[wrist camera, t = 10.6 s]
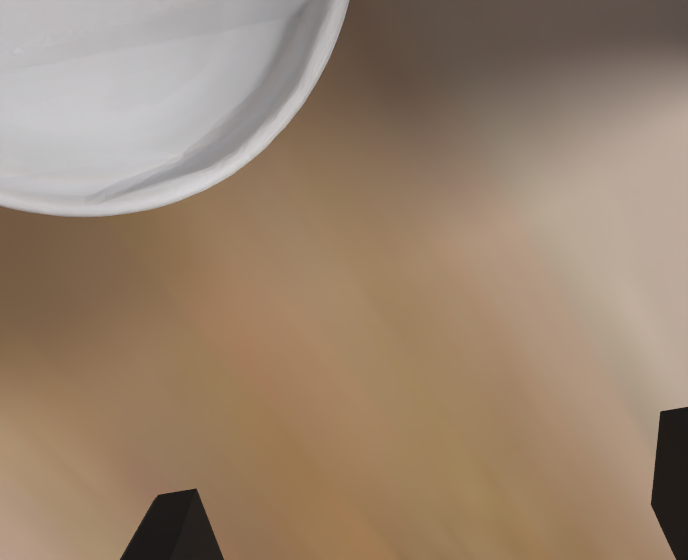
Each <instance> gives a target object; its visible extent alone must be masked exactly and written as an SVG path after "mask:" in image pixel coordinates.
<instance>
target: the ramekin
mask: <svg viewBox="0 0 688 560" xmlns="http://www.w3.org/2000/svg"><path fill="white" fill-rule="evenodd" d="M348 4H349V0H0V206H2V207H6V208H11V209H16V210H20V211H25V212H30V213H38V214H46V215H55V216H64V217H97V216H112V215H120V214H128V213H134V212H139V211H145V210H149V209H154V208H158V207H161V206H165V205H168V204H171V203H175V202H178V201H180V200H183V199H185V198H187V197H189V196H192V195H194V194H196V193H199V192H202V191H204V190H206V189H208V188H210V187H212V186H214V185H215V184H217V183H219V182H221V181H223V180H224V179H226V178H227V177H229V176H231V175H232V174H234V173H235V172H236V171H238V170H239V169H241V168H242V167H243V166H245V165H246V164H247V163H248V162H250V161H251V160H252V159H253V158H255V157H256V156H257V155H258V154H259V153H260V152H262V151H263V150H264V149H265V148H266V147H267V146H268V145H269V144H270V143H271V142H272V141H273V140H274V138H275V137H276V136H277V135H278V134H279V133H280V132H281V131H282V130H283V129H284V128H285V127H286V126H287V124H288V123H289V122H290V121H291V120H292V118H293V117H294V116H295V114H296V113H297V112H298V111H299V109H300V108H301V107H302V105H303V104H304V102H305V101H306V99H307V98H308V96H309V94H310V93H311V91H312V90H313V88H314V86H315V85H316V83H317V81H318V79H319V78H320V76H321V74H322V72H323V70H324V68H325V66H326V64H327V62H328V60H329V58H330V56H331V53H332V51H333V48H334V46H335V44H336V41H337V39H338V36H339V33H340V30H341V27H342V24H343V21H344V18H345V15H346V11H347V8H348Z"/></svg>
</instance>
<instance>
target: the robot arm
mask: <svg viewBox="0 0 688 560" xmlns="http://www.w3.org/2000/svg"><path fill="white" fill-rule="evenodd" d="M651 506H652V508H653V510H654V512H655V515H656V517H657V519H658V521H659V524H660V526H661V528H662V530H663V532H664V535H665V537H666V539H667V541H668V543H669V545H670V547H671V550H672V552H673V554H674V556H675V558H676V560H688V407H685V408H679V409H673V410H667V411H661V412H660V421H659V431H658V440H657V450H656V460H655V470H654V480H653V489H652V499H651ZM120 560H224V559H223V556H222V553H221V551H220V548H219V546H218V543H217V540H216V538H215V535H214V533H213V530H212V527H211V525H210V522H209V520H208V517H207V514H206V512H205V509H204V507H203V504H202V502H201V499H200V496H199V494H198V491H197V489H191V490H185V491H179V492H173V493H167V494H161V495H158V496H157V497H156V498H155V500H154V501H153V503H152V504H151V506H150V508H149V510H148V511H147V513H146V515H145V517H144V518H143V520H142V522H141V524H140V525H139V527H138V529H137V531H136V532H135V534H134V536H133V538H132V539H131V541H130V543H129V545H128V546H127V548H126V550H125V551H124V553H123V555H122V557H121V558H120Z"/></svg>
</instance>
